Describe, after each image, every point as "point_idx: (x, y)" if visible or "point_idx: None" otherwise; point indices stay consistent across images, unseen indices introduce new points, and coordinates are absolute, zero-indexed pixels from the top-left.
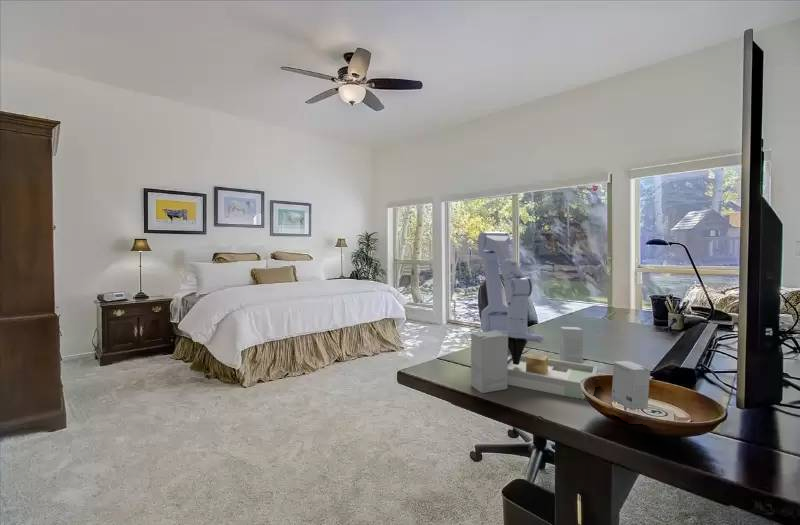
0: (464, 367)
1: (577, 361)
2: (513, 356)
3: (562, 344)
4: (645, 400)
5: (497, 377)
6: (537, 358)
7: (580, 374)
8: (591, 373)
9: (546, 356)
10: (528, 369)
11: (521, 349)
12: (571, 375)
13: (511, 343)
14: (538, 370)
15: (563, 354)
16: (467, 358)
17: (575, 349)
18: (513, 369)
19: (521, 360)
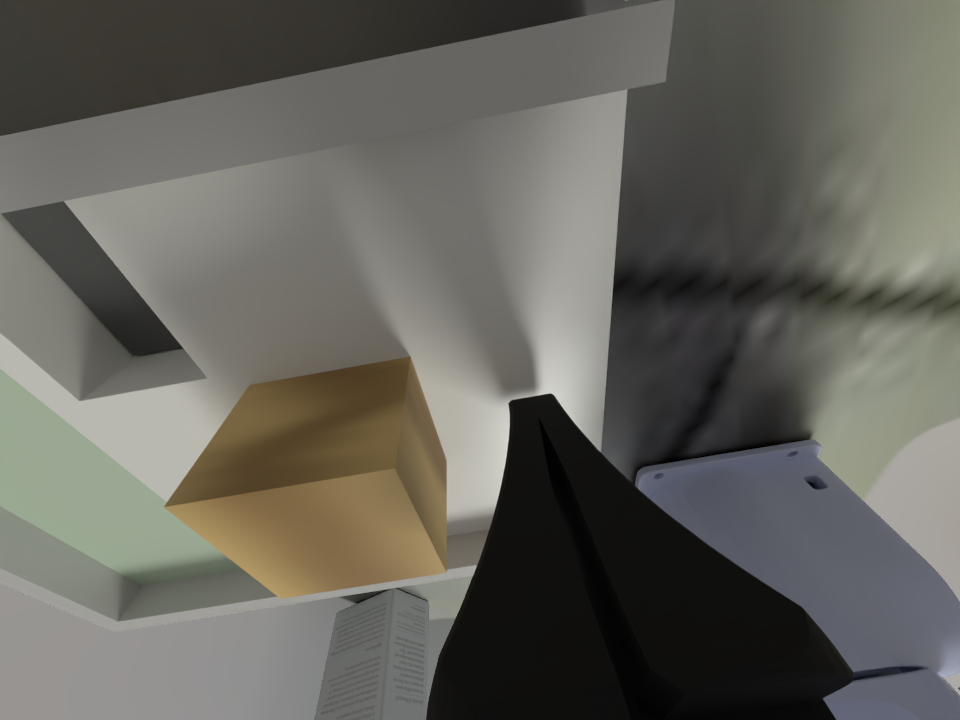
0: (940, 251)
1: (346, 628)
2: (571, 447)
3: (398, 717)
4: None
5: None
6: (280, 512)
7: (125, 526)
8: (117, 566)
9: (280, 589)
10: (384, 374)
11: (475, 570)
12: (128, 485)
13: (699, 645)
14: (290, 395)
15: (391, 649)
16: (878, 425)
17: (340, 701)
18: (524, 329)
19: None
